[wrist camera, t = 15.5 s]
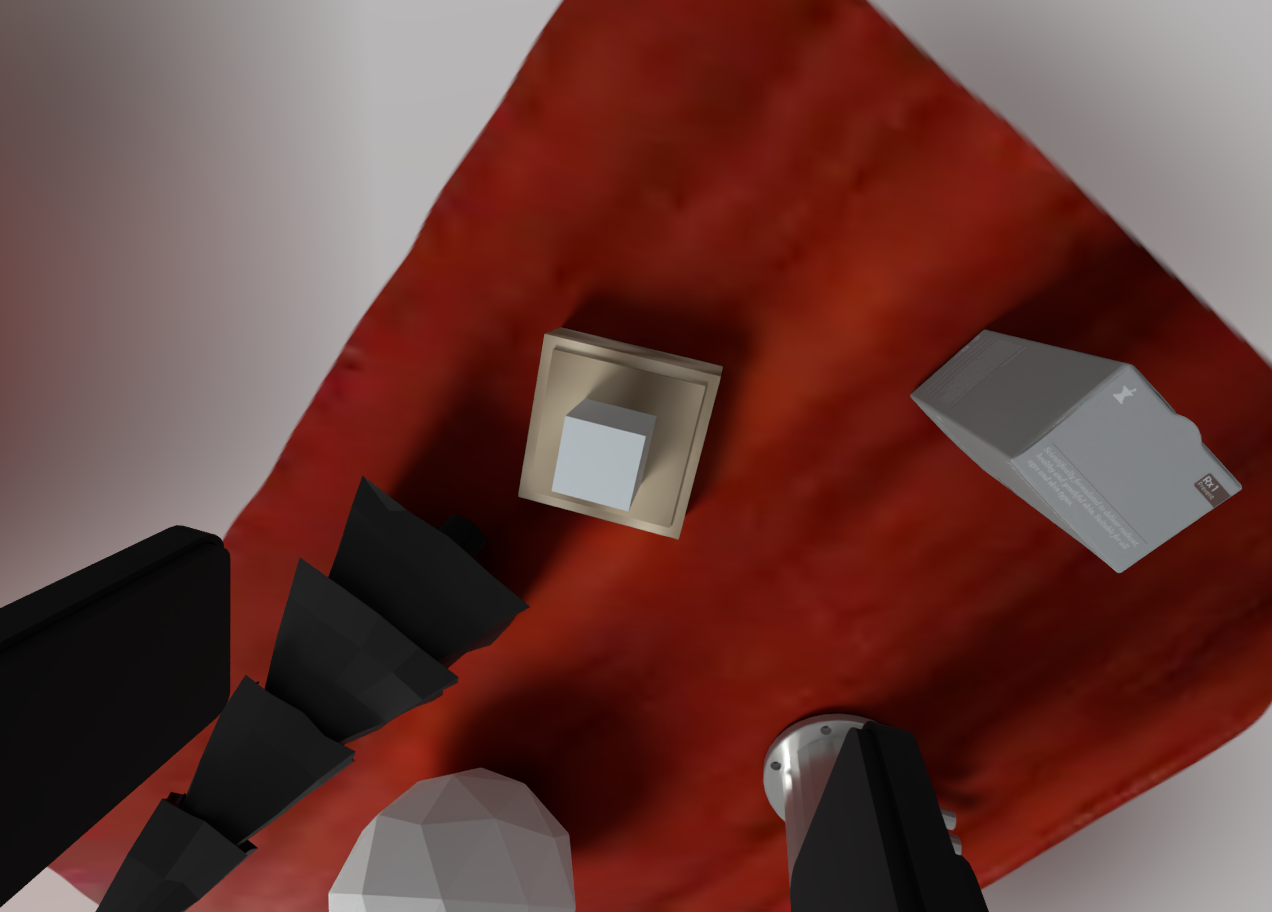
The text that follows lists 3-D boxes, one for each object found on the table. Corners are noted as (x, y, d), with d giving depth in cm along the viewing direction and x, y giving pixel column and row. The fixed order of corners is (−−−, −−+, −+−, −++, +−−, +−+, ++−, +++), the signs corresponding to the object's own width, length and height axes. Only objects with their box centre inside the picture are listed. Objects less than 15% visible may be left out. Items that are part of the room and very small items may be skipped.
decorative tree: (387, 506, 57) (-40, 934, 37) (405, 432, 45) (-214, 1005, 25) (518, 607, 58) (169, 1078, 38) (569, 560, 46) (99, 1213, 26)
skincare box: (905, 393, 44) (986, 465, 29) (994, 317, 42) (1132, 352, 27) (988, 478, 45) (1108, 589, 30) (1080, 407, 43) (1260, 490, 28)
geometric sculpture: (552, 792, 69) (524, 1044, 57) (356, 768, 62) (280, 1046, 51) (623, 765, 54) (605, 1094, 43) (379, 731, 48) (280, 1105, 37)
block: (656, 416, 43) (645, 436, 38) (640, 484, 45) (628, 511, 40) (584, 398, 43) (565, 415, 39) (571, 466, 45) (551, 490, 40)
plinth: (722, 366, 46) (720, 377, 42) (683, 517, 49) (678, 541, 45) (561, 327, 47) (543, 334, 43) (535, 478, 51) (516, 498, 46)
